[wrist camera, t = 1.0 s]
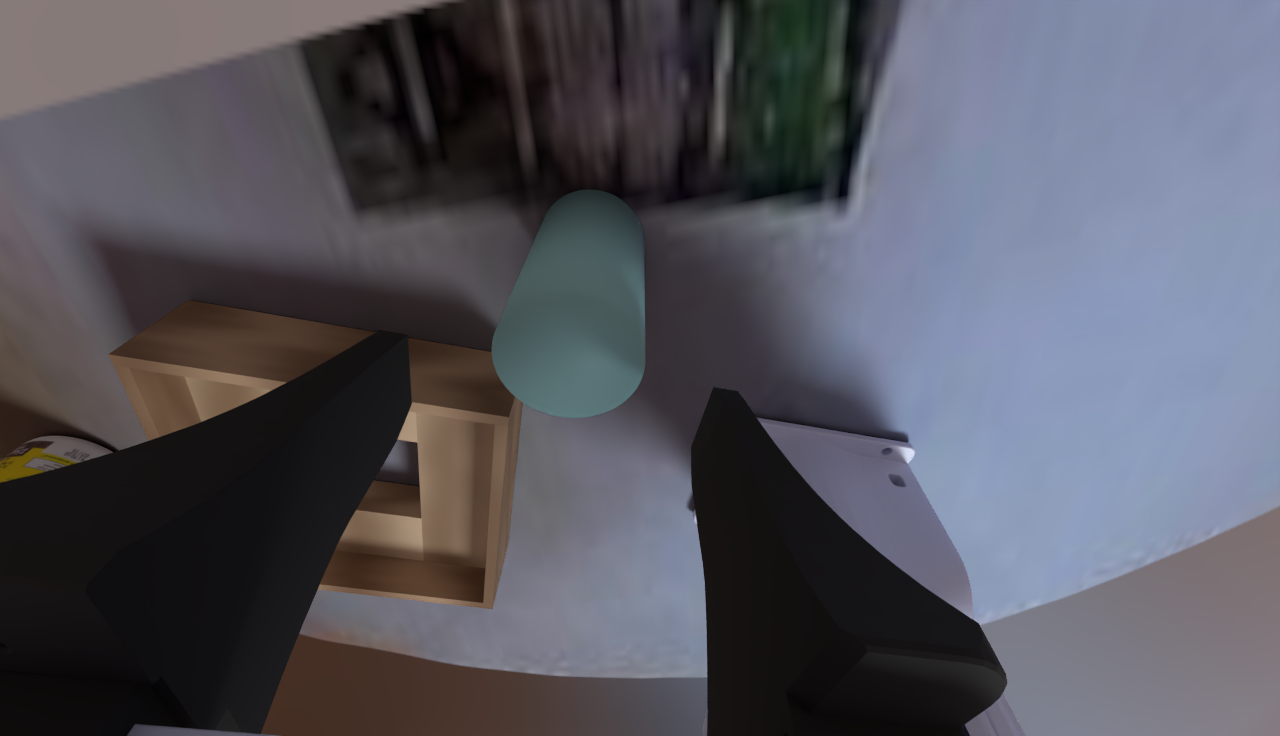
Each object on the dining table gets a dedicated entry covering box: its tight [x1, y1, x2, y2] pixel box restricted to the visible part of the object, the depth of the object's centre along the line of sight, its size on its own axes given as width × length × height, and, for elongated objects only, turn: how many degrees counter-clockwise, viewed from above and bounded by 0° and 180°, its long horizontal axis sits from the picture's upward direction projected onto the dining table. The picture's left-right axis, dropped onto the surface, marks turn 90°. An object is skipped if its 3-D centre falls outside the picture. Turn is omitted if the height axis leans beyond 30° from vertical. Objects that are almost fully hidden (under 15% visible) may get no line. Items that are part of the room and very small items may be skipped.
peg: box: [491, 189, 645, 418], centre depth 17 cm, size 4×4×8 cm
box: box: [108, 300, 523, 609], centre depth 25 cm, size 14×14×4 cm
